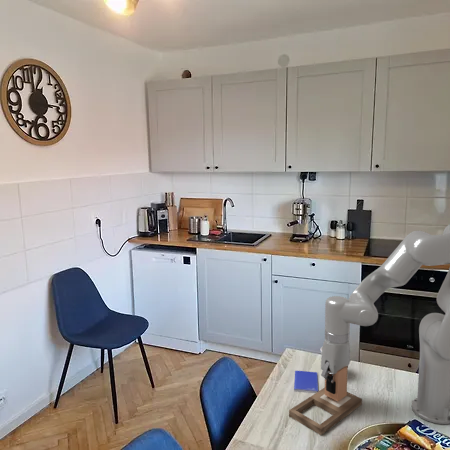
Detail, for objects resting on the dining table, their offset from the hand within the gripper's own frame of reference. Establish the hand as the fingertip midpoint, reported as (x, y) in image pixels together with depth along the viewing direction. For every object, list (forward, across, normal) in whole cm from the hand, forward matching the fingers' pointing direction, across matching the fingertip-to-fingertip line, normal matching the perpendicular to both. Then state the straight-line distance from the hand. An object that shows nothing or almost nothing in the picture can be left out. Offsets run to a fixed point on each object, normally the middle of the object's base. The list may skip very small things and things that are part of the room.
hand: (335, 388), depth 128 cm
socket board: (+6, +5, 0) cm, 8 cm away
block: (+3, 0, 0) cm, 3 cm away
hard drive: (+6, -3, -14) cm, 16 cm away
